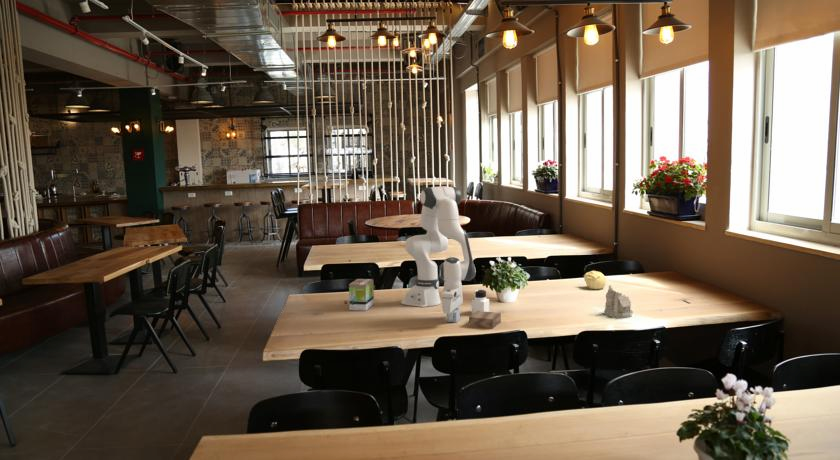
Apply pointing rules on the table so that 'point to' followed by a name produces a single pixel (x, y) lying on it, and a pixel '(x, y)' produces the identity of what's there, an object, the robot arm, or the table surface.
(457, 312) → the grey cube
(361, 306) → the tea box
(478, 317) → the walnut block
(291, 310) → the table surface
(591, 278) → the pale yellow lumpy ball
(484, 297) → the medicine bottle
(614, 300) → the grey rock
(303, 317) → the table surface
